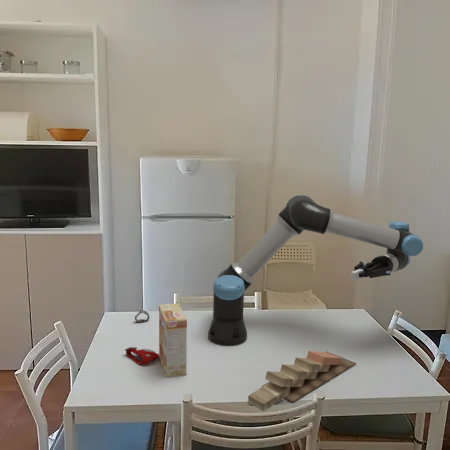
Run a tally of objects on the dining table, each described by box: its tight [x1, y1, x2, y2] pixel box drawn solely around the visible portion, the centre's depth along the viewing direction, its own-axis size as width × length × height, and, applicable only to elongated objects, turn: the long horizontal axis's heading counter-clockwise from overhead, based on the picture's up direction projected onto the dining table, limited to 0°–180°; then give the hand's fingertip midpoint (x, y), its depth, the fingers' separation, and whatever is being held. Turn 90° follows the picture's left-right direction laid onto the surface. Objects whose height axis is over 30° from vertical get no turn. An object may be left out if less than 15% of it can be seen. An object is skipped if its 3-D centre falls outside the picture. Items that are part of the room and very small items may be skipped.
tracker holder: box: [124, 346, 159, 366], centre depth 163 cm, size 12×4×10 cm
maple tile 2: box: [279, 364, 318, 379], centre depth 149 cm, size 2×6×12 cm
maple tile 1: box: [293, 357, 330, 372], centre depth 154 cm, size 2×6×12 cm
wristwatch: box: [134, 309, 150, 324], centre depth 196 cm, size 4×6×5 cm, turn 122°
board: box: [261, 350, 357, 404], centre depth 155 cm, size 36×12×1 cm, turn 135°
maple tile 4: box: [247, 381, 290, 412], centre depth 140 cm, size 2×6×12 cm
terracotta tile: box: [306, 350, 341, 365], centre depth 159 cm, size 2×6×12 cm
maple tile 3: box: [264, 370, 304, 387], centre depth 144 cm, size 2×6×12 cm
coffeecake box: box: [158, 303, 188, 378], centre depth 157 cm, size 15×7×20 cm, turn 16°
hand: (352, 276), depth 164 cm, fingers closed
